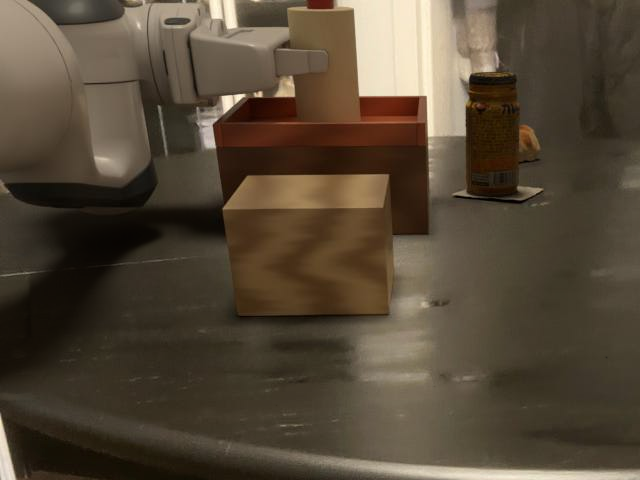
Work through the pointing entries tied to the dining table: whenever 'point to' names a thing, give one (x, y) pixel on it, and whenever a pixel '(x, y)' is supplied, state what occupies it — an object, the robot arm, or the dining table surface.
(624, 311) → the dining table surface
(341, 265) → the birch block
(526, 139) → the pastry
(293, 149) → the tray stand
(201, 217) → the dining table surface
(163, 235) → the dining table surface
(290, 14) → the sauce bottle
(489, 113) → the condiment
